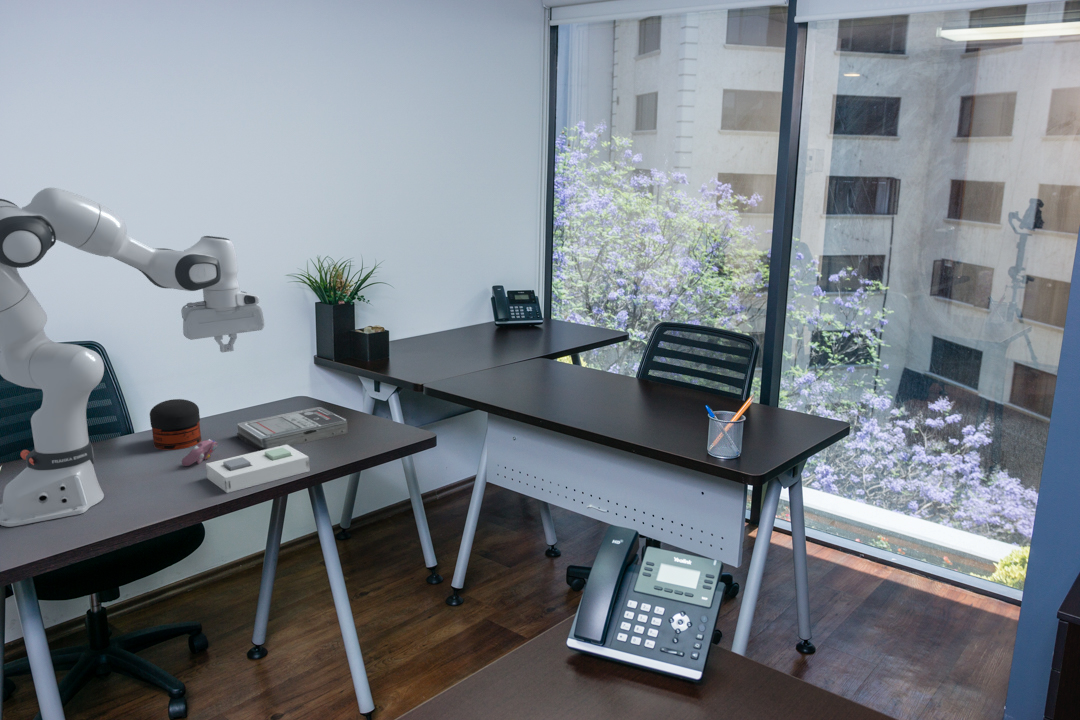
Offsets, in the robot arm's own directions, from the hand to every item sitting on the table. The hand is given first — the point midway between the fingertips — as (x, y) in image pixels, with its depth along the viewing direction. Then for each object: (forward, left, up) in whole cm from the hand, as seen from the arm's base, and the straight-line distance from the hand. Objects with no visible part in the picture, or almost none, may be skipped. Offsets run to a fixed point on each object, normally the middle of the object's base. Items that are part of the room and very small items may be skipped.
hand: (226, 351), depth 211 cm
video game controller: (-7, +8, -31) cm, 33 cm away
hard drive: (+22, +12, -32) cm, 41 cm away
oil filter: (-6, +28, -31) cm, 43 cm away
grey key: (-5, -12, -29) cm, 32 cm away
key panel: (+1, -12, -31) cm, 33 cm away
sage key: (+7, -12, -29) cm, 32 cm away
